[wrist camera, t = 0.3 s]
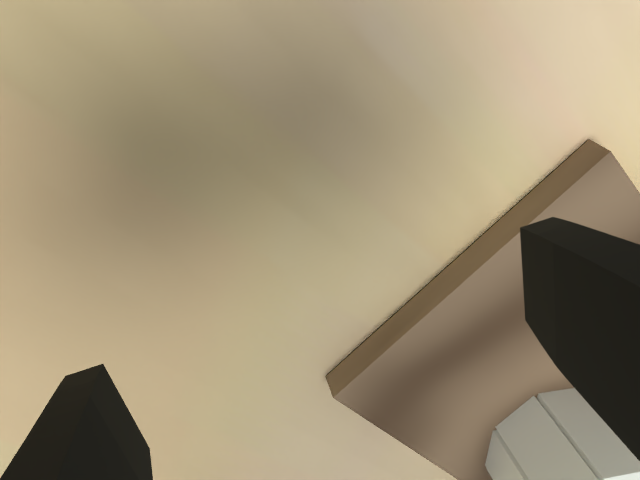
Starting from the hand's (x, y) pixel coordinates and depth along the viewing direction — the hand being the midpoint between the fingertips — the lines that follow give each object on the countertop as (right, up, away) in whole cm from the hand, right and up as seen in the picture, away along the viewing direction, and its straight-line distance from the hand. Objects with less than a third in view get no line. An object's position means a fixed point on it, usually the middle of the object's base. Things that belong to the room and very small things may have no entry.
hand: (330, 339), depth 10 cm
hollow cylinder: (+10, -7, +17) cm, 21 cm away
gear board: (+12, -5, +18) cm, 22 cm away
